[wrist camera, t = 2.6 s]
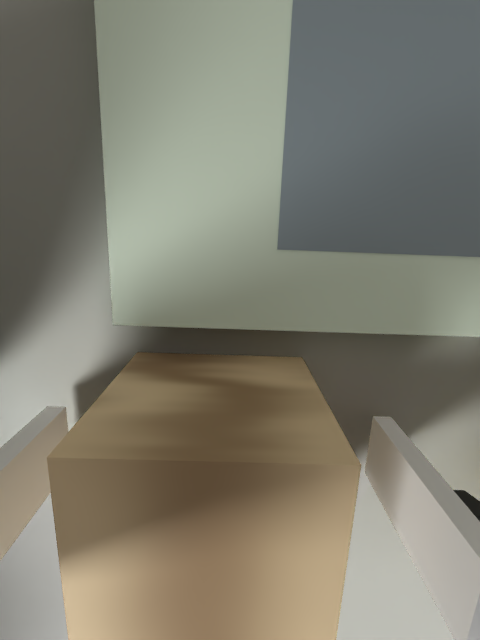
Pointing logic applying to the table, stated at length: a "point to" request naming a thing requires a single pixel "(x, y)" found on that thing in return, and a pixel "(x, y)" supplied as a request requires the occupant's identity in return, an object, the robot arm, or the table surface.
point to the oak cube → (204, 503)
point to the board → (292, 164)
